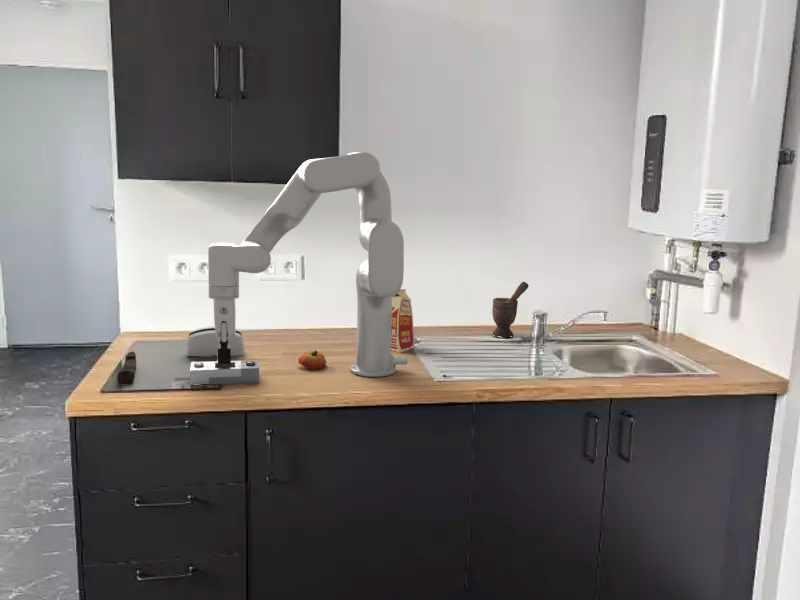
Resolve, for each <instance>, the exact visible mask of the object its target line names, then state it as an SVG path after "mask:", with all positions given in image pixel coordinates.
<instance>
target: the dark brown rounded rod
mask: <svg viewBox="0 0 800 600" xmlns="http://www.w3.org/2000/svg"><path fill="white" fill-rule="evenodd" d="M124 360H125V361H124V363H123V365H122V368H121V370H120V371H119V372H118V374H117V377H116V379H117V383H118V385H120V384H129V385H132V384H134V381H135V377H136V376H135V374H136V371H137V355H136V353H135V352H134V351H129V352H128V353H127V354H126V355H125V359H124Z"/></svg>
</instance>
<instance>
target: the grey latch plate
mask: <svg viewBox="0 0 800 600" xmlns="http://www.w3.org/2000/svg"><path fill="white" fill-rule="evenodd" d="M189 376H190V377H189V378H190V379H189V380H190V381H189V383H190V384H189V385H194V384H220V385H219V386H221V385H222V386H223V385H241V384H245V385H247V384H259V383H260V366H259V360H258V359H251V360H249V359H248V360H247V359H246V360H231V365H230V366H218V365H217V360H216V361H191V363H190V368H189Z"/></svg>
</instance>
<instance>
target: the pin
mask: <svg viewBox="0 0 800 600" xmlns="http://www.w3.org/2000/svg"><path fill="white" fill-rule="evenodd" d="M221 340H222V339H221ZM226 340H227V341H228V339H226ZM231 342H232V340H231V339H230V348H231ZM216 343H217V356H216V358H217V360H216V361H217V365H218V366H230V365H231V363H230V364H218V348H219V339H217V340H216ZM227 346H228V344H227ZM227 348H228V347H227Z"/></svg>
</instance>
